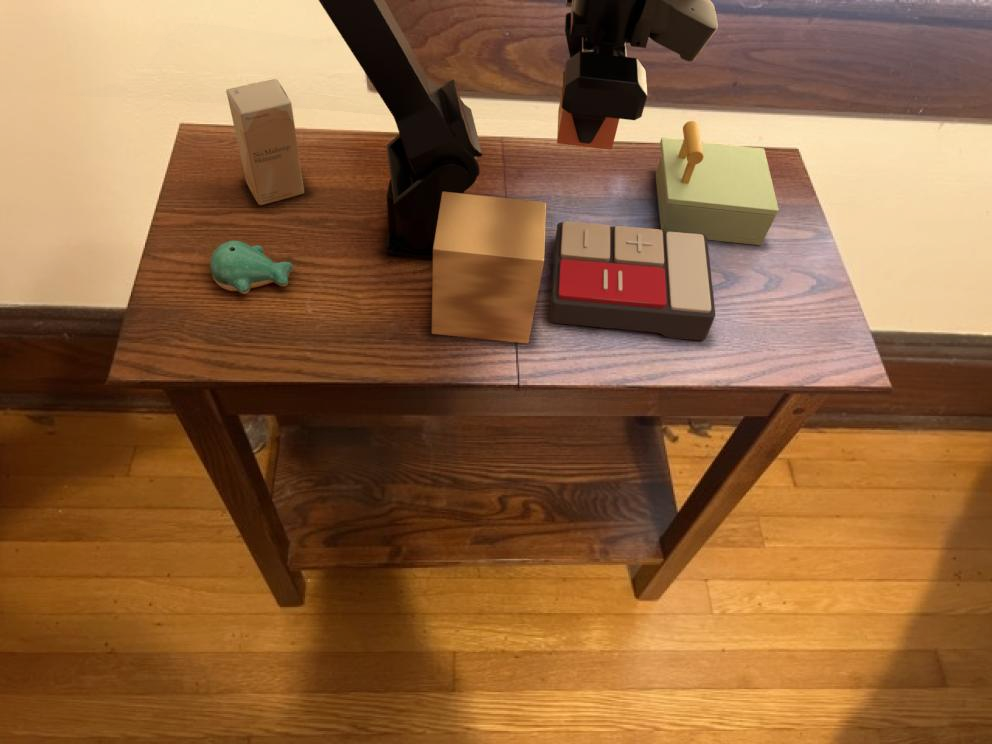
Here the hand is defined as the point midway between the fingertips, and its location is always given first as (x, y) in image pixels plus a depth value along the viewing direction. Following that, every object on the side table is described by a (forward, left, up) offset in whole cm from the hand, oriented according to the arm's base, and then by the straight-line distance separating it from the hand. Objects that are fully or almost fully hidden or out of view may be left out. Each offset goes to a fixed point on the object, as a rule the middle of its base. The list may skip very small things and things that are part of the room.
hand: (585, 124), depth 67 cm
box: (-31, +1, -13) cm, 33 cm away
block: (0, 0, -1) cm, 1 cm away
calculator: (+6, -8, -13) cm, 17 cm away
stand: (-8, -13, -13) cm, 19 cm away
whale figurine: (-30, -12, -13) cm, 34 cm away
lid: (+16, +6, -9) cm, 19 cm away
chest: (+16, +5, -13) cm, 21 cm away
